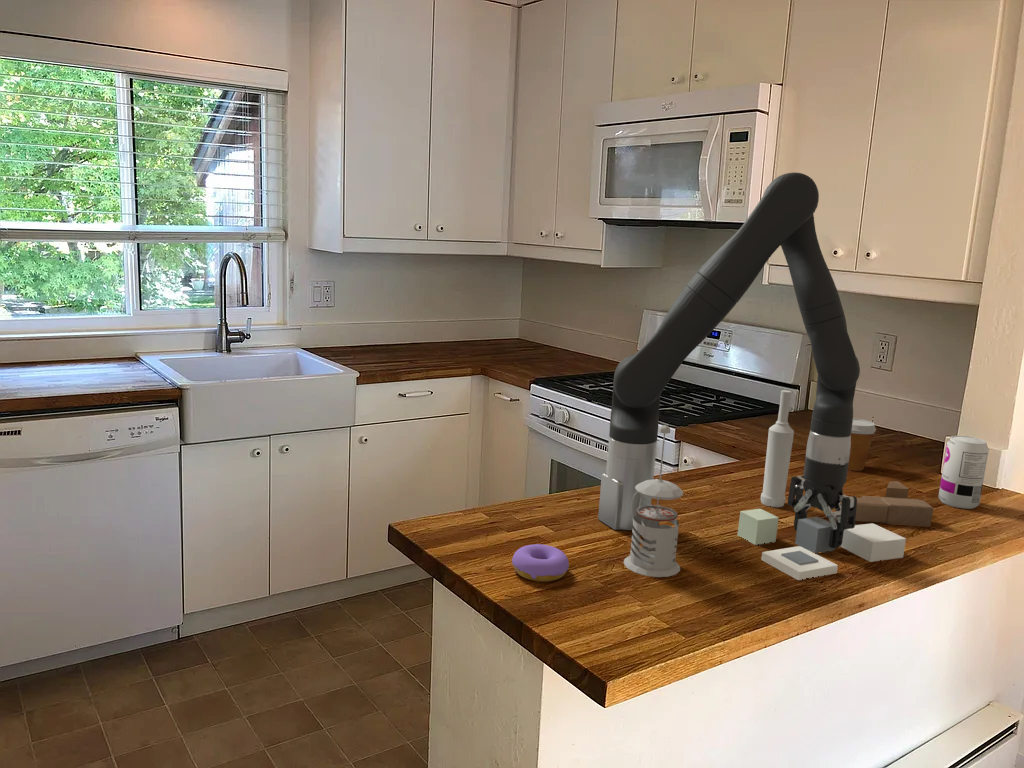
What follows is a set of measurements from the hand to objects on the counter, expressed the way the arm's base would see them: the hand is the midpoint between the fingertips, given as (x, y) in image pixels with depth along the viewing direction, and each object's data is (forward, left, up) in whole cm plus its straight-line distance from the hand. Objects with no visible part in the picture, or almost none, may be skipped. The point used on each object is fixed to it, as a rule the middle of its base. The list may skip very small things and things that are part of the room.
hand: (816, 539), depth 156 cm
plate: (-10, -6, -2) cm, 12 cm away
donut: (-55, +7, -2) cm, 56 cm away
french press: (-35, +4, -2) cm, 35 cm away
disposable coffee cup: (+51, +38, -2) cm, 64 cm away
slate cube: (0, 0, -2) cm, 2 cm away
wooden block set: (+30, +12, -2) cm, 32 cm away
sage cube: (-8, +7, -2) cm, 11 cm away
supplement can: (+53, +9, -2) cm, 54 cm away
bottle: (+10, +22, -2) cm, 24 cm away
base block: (+9, -5, -2) cm, 10 cm away
